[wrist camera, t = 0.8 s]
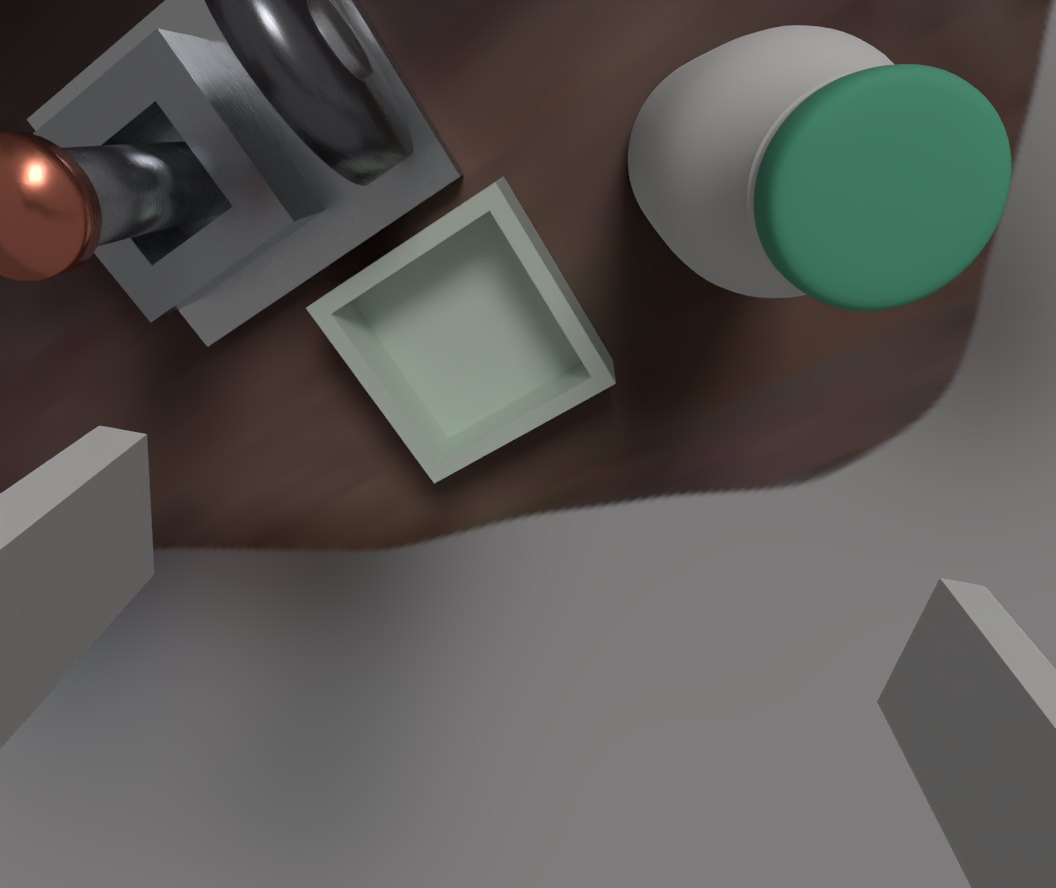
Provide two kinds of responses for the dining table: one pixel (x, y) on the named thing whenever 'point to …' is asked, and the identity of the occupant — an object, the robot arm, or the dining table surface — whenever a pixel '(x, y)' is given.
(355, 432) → the dining table surface
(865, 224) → the milk bottle
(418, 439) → the tray
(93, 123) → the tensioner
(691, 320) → the dining table surface
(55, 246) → the pin
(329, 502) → the dining table surface
